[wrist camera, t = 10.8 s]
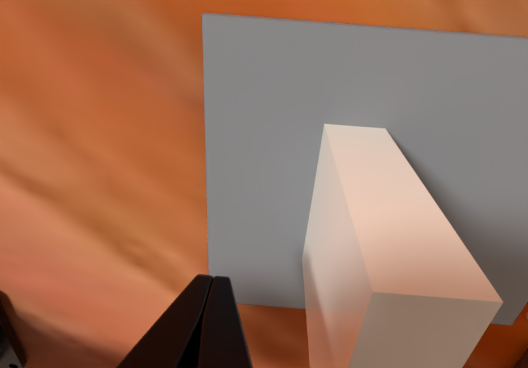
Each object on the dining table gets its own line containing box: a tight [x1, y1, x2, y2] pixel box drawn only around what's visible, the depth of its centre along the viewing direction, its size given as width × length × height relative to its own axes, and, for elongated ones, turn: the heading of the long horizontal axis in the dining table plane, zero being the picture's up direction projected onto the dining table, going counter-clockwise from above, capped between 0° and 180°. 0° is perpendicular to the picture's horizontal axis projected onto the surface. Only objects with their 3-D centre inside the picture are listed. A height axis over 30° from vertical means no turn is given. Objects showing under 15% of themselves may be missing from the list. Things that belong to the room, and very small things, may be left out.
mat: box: [202, 13, 528, 325], centre depth 13 cm, size 12×14×1 cm
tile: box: [302, 124, 503, 368], centre depth 10 cm, size 6×2×7 cm, turn 176°
